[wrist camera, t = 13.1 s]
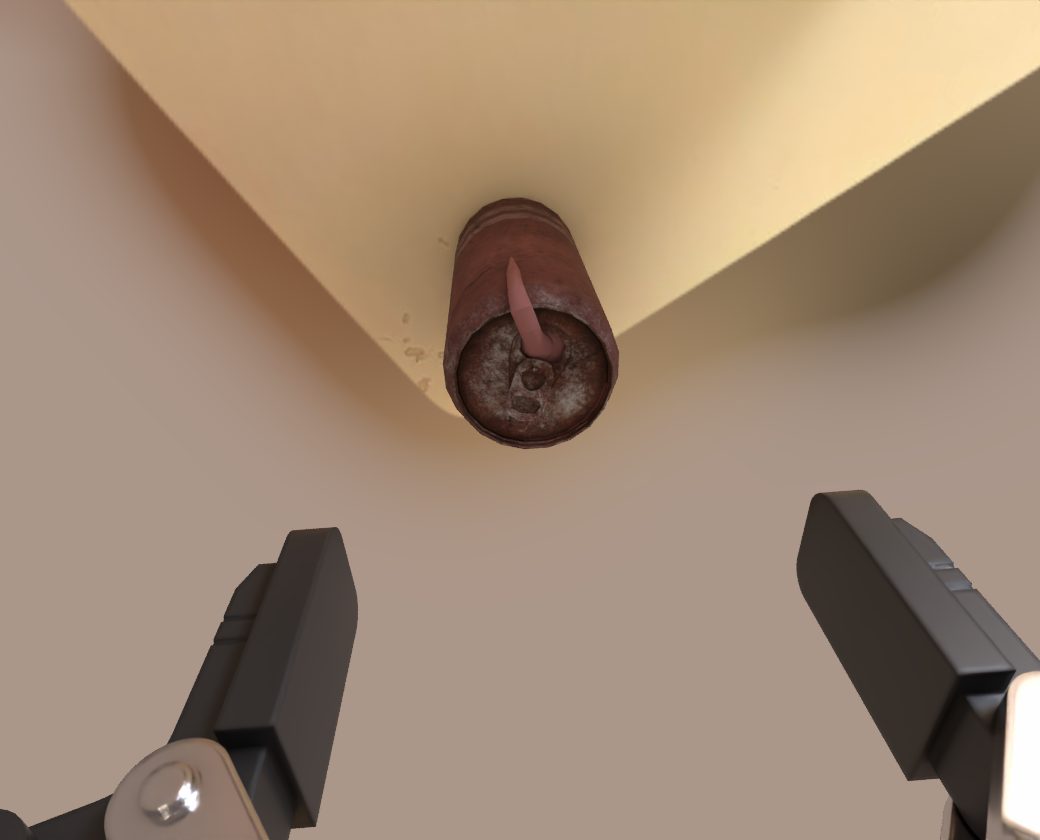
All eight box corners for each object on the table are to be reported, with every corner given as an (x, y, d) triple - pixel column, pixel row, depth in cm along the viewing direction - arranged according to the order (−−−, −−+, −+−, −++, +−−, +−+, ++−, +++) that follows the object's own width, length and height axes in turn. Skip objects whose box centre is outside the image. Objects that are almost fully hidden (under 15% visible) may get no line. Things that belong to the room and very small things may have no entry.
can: (550, 171, 31) (592, 261, 19) (587, 289, 35) (643, 427, 23) (435, 216, 32) (408, 328, 20) (482, 326, 35) (482, 479, 23)
